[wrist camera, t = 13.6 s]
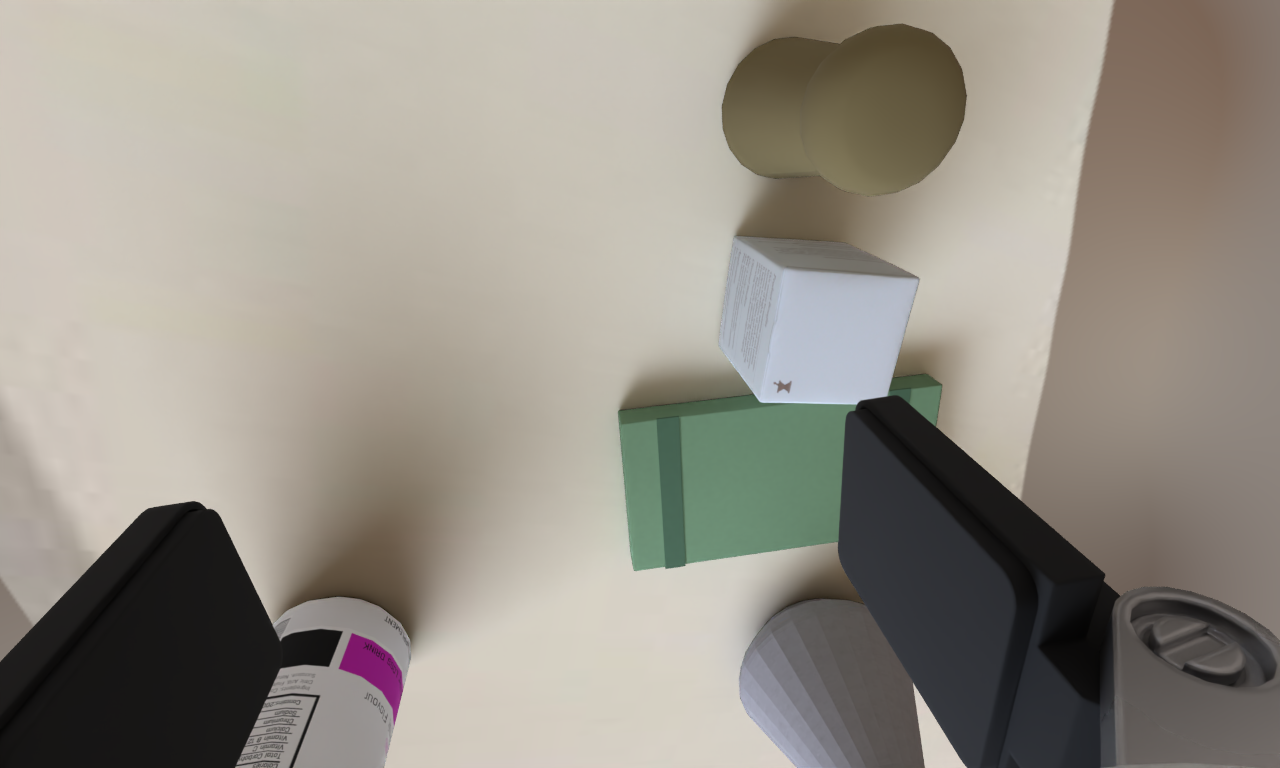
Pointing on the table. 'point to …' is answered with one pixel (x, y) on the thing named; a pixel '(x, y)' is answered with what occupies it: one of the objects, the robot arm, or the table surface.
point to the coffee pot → (831, 689)
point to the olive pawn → (847, 109)
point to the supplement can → (332, 688)
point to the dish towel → (739, 474)
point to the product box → (814, 320)
